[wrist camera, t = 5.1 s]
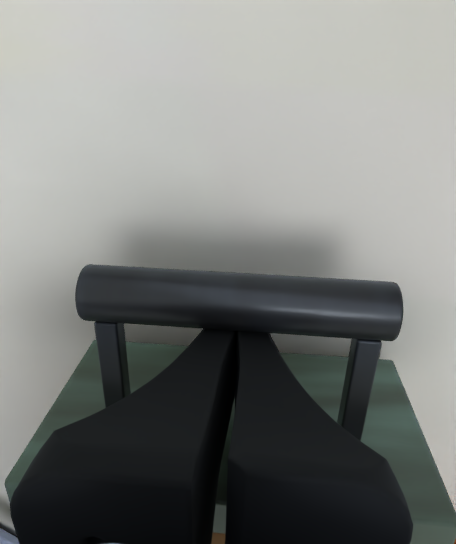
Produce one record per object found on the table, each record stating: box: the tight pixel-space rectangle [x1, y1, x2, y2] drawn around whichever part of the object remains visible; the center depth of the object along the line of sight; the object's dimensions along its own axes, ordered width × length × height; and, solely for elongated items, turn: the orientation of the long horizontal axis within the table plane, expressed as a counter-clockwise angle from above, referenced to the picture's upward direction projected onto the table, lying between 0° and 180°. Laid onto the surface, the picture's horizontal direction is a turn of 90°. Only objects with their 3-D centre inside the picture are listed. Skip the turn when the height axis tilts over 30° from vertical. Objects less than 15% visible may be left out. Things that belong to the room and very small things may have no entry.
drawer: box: [5, 264, 456, 544], centre depth 15 cm, size 18×11×6 cm, turn 179°
